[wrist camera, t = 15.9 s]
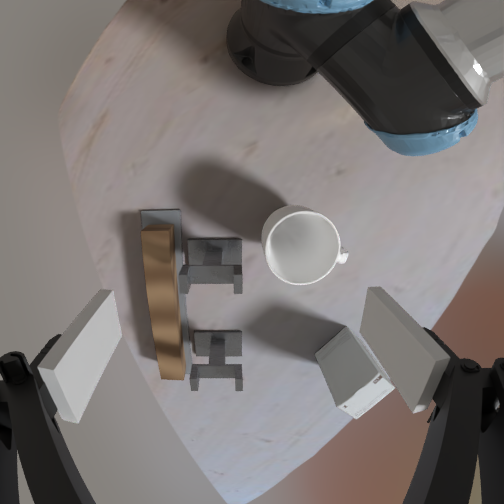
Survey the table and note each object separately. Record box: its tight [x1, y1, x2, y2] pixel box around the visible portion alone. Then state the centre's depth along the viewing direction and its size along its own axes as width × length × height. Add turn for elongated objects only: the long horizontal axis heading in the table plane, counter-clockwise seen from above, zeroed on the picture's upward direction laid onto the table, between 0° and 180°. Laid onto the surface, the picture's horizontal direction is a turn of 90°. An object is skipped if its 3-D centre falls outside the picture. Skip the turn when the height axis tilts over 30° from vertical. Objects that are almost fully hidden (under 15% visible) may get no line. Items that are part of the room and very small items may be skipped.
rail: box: [141, 224, 186, 380], centre depth 45 cm, size 26×4×4 cm, turn 179°
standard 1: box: [178, 239, 242, 294], centre depth 41 cm, size 5×8×11 cm, turn 89°
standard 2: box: [190, 331, 243, 391], centre depth 45 cm, size 5×8×11 cm, turn 89°
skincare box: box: [315, 326, 395, 419], centre depth 46 cm, size 8×6×15 cm
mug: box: [261, 205, 348, 285], centre depth 40 cm, size 12×9×12 cm
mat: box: [141, 210, 192, 374], centre depth 48 cm, size 30×6×1 cm, turn 179°
